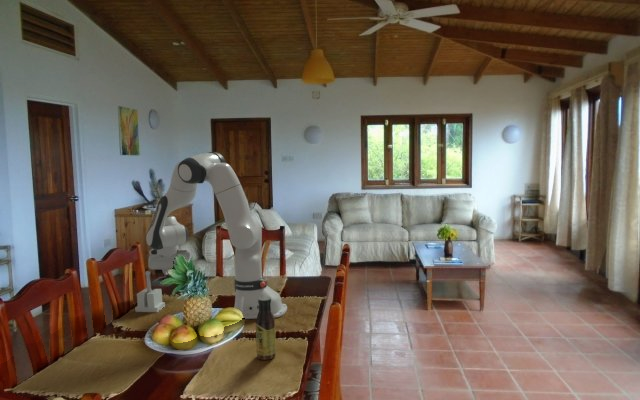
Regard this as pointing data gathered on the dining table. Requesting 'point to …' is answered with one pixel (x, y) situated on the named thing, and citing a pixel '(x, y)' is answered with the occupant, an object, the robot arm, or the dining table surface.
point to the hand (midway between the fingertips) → (170, 278)
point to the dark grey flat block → (158, 280)
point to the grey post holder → (149, 298)
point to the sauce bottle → (265, 330)
